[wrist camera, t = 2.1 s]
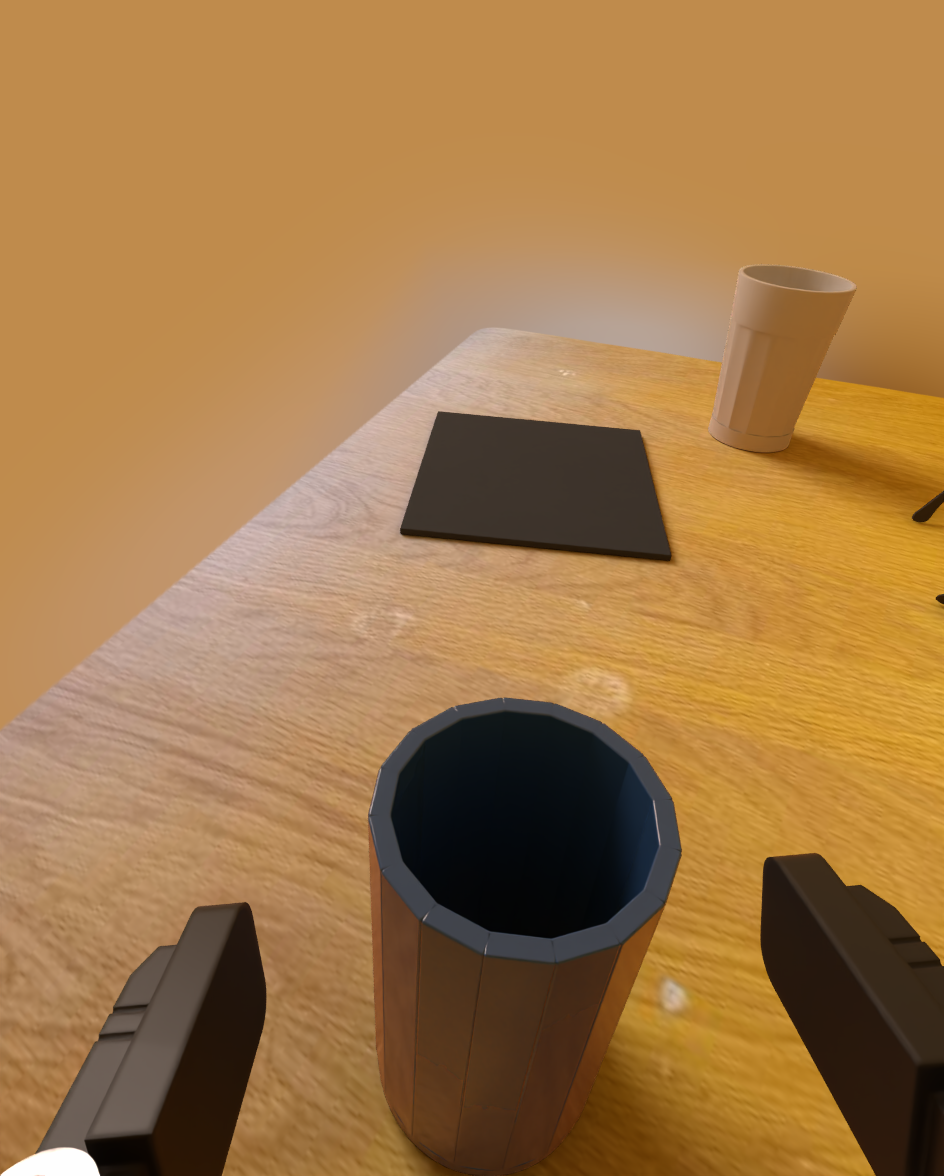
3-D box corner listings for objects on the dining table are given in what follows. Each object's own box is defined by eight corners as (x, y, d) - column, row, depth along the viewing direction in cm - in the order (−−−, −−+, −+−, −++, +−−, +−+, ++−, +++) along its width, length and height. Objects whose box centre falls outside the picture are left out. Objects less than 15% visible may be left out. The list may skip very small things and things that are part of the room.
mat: (400, 534, 43) (400, 528, 43) (437, 415, 57) (438, 411, 57) (670, 561, 42) (671, 555, 42) (639, 434, 57) (640, 430, 57)
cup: (679, 418, 60) (717, 264, 53) (758, 412, 62) (805, 264, 55) (736, 461, 54) (787, 293, 47) (821, 452, 56) (882, 291, 49)
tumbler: (357, 1162, 18) (337, 938, 12) (397, 931, 23) (398, 685, 17) (595, 1192, 18) (705, 982, 12) (585, 953, 23) (659, 713, 17)
